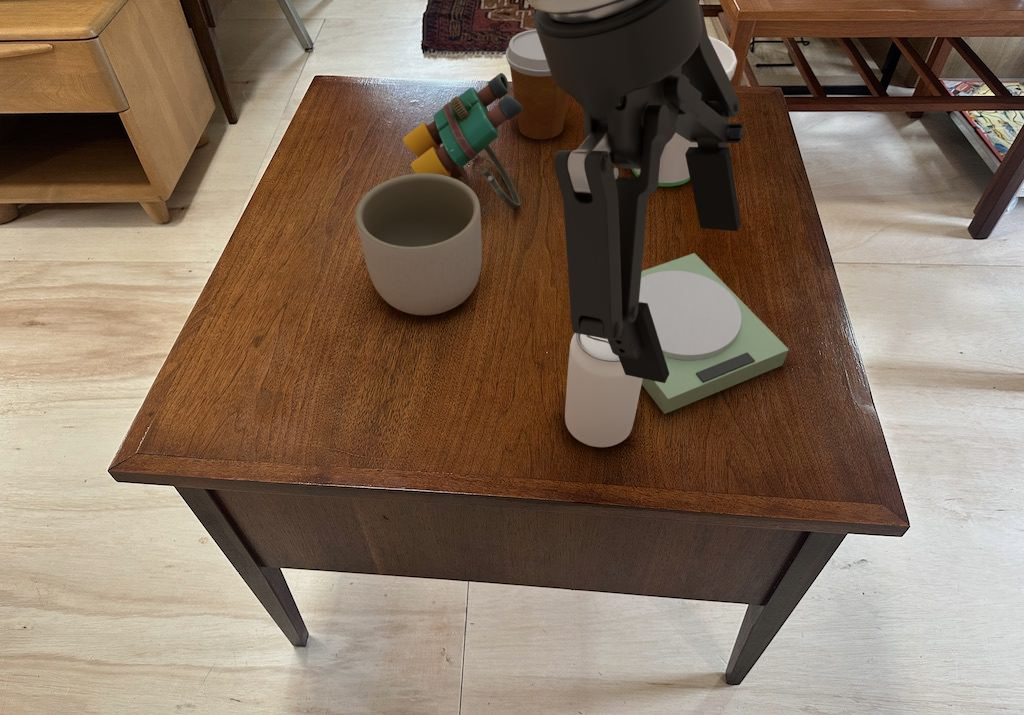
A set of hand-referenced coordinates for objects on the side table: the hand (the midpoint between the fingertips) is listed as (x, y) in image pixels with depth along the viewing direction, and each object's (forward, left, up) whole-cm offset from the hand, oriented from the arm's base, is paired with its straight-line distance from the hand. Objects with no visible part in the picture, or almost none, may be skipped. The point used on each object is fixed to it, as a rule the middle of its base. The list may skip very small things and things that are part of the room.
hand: (686, 296), depth 47 cm
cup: (+38, -27, -21) cm, 51 cm away
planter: (+30, +9, -21) cm, 38 cm away
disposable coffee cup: (+54, -17, -21) cm, 61 cm away
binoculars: (+43, -1, -21) cm, 48 cm away
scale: (+12, -12, -21) cm, 27 cm away
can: (+6, +1, -21) cm, 22 cm away
